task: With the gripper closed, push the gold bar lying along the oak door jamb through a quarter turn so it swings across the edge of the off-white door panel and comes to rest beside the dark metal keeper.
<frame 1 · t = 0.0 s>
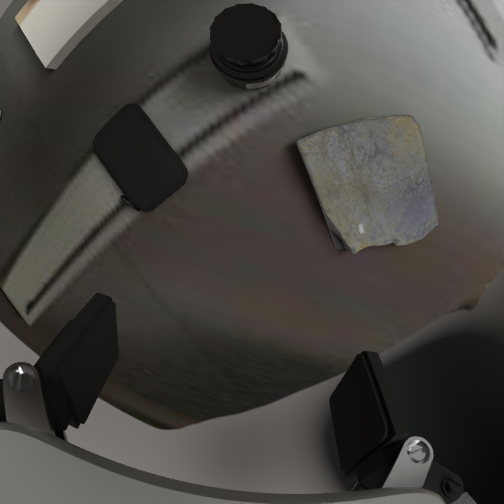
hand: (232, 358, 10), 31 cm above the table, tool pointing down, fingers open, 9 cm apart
lightbulb: (0, 115, 33), on the table
carrying case or bag: (139, 158, 38), on the table
ink bottle: (250, 60, 31), on the table
grey flat stone slab: (371, 184, 38), on the table
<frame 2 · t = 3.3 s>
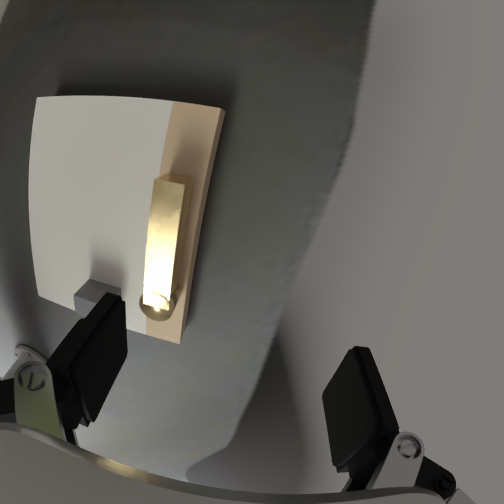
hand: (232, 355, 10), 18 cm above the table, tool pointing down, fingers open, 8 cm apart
white cabinet door: (118, 215, 27), on the table
gold bar: (165, 252, 23), point 5 cm above the table, hinge at 0.0°
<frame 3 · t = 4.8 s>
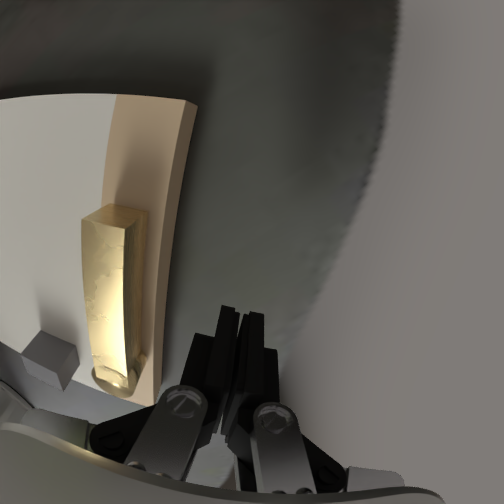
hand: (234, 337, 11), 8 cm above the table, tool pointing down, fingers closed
white cabinet door: (66, 253, 19), on the table
gold bar: (115, 316, 15), point 5 cm above the table, hinge at 0.0°
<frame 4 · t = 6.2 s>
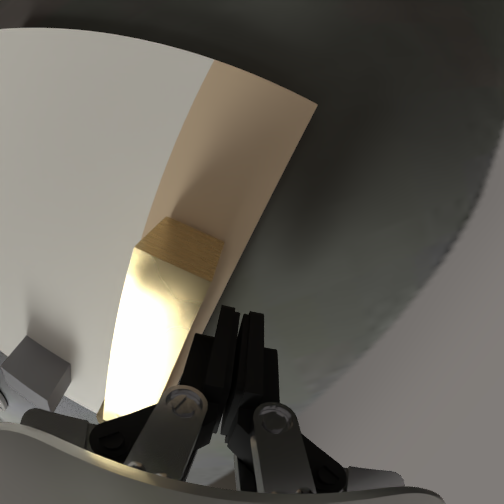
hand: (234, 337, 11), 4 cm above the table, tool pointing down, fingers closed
white cabinet door: (73, 250, 15), on the table
gold bar: (143, 362, 11), point 5 cm above the table, hinge at 0.1°, touching gripper
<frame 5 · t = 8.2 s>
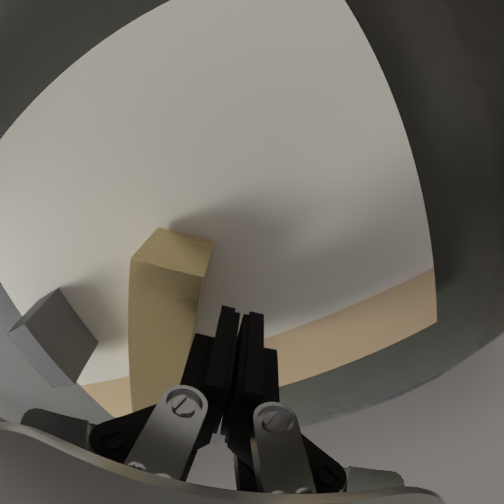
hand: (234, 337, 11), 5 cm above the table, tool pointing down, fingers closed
white cabinet door: (182, 250, 15), on the table
gold bar: (162, 366, 12), point 5 cm above the table, hinge at 50.9°, touching gripper
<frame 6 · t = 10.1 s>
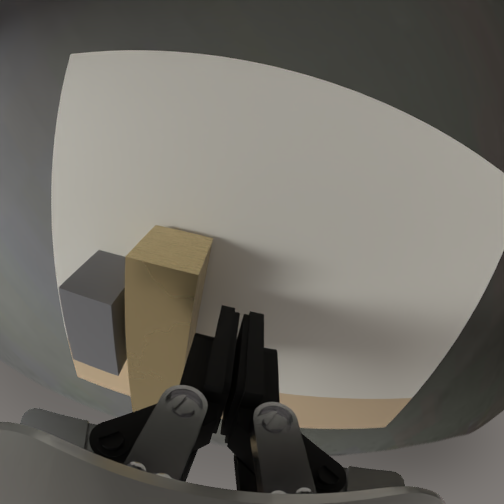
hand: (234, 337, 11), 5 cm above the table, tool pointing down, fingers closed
white cabinet door: (273, 294, 16), on the table
gold bar: (162, 365, 12), point 5 cm above the table, hinge at 89.3°
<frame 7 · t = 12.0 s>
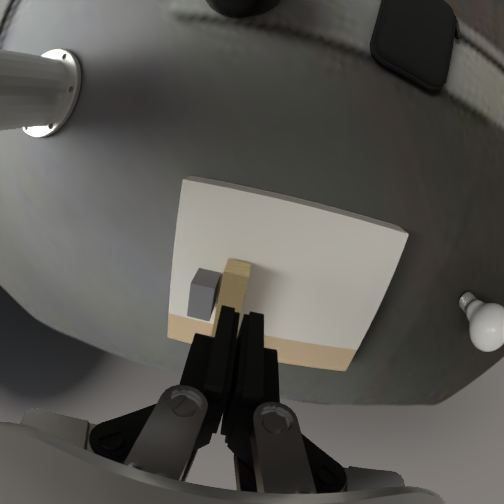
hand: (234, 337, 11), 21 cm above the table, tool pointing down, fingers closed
lightbulb: (462, 297, 33), on the table
carrying case or bag: (414, 34, 21), on the table
white cabinet door: (276, 288, 34), on the table
gold bar: (226, 318, 30), point 5 cm above the table, hinge at 89.4°
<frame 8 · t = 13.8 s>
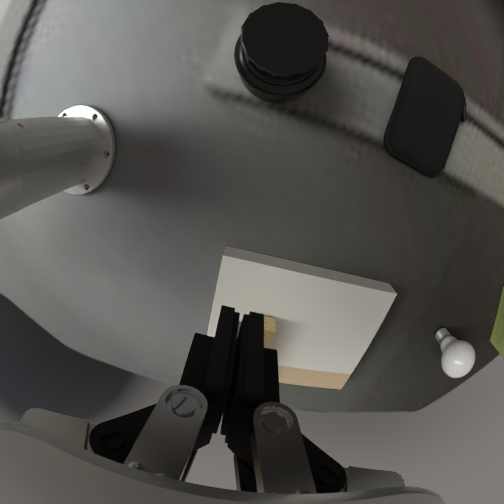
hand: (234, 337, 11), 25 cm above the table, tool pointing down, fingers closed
lightbulb: (439, 330, 42), on the table
carrying case or bag: (424, 117, 29), on the table
white cabinet door: (290, 329, 42), on the table
ink bottle: (277, 68, 28), on the table
gold bar: (254, 356, 38), point 5 cm above the table, hinge at 89.4°
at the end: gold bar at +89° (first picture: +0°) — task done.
